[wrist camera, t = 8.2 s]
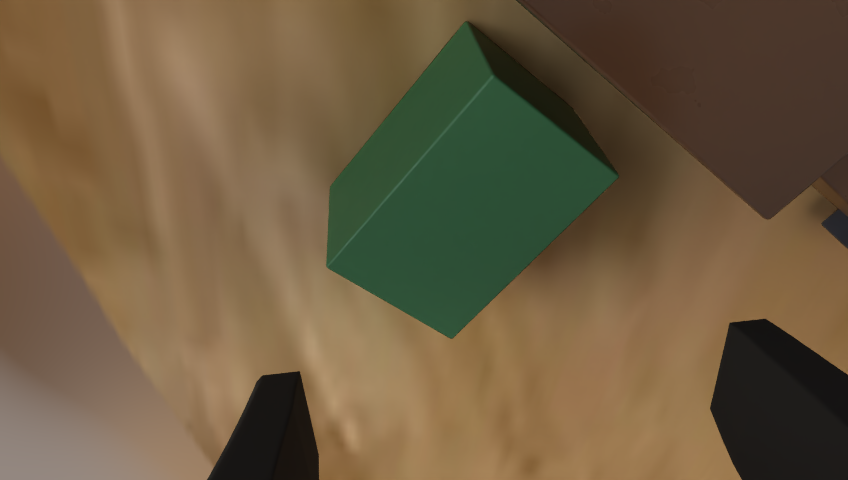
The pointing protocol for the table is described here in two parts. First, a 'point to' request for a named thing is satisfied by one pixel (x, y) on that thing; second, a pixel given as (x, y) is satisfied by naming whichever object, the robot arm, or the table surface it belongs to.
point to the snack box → (462, 186)
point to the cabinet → (726, 81)
